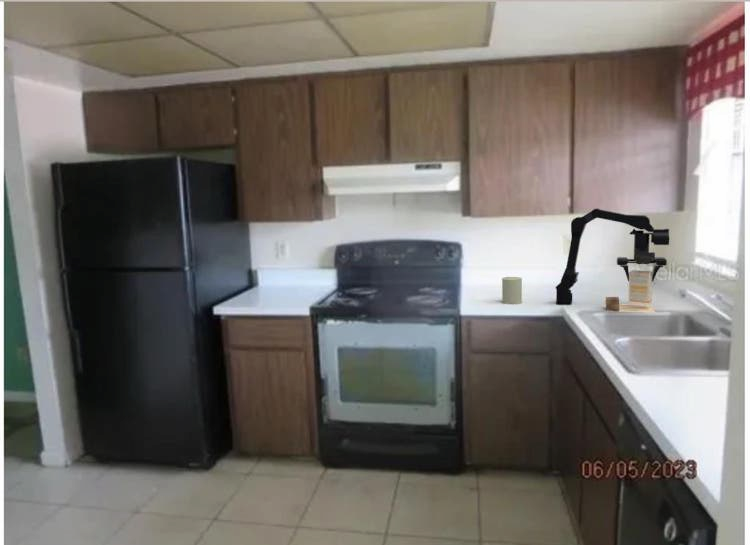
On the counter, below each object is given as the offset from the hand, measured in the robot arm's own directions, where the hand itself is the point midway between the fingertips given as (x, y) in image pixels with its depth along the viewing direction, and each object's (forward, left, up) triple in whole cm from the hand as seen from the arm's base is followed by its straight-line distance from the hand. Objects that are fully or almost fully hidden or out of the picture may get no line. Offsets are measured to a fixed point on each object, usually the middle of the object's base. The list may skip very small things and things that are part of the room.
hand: (640, 281), depth 227 cm
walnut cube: (-11, -6, -12) cm, 17 cm away
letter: (-2, -2, -12) cm, 12 cm away
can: (-54, +3, -12) cm, 55 cm away
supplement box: (0, 0, -9) cm, 9 cm away
